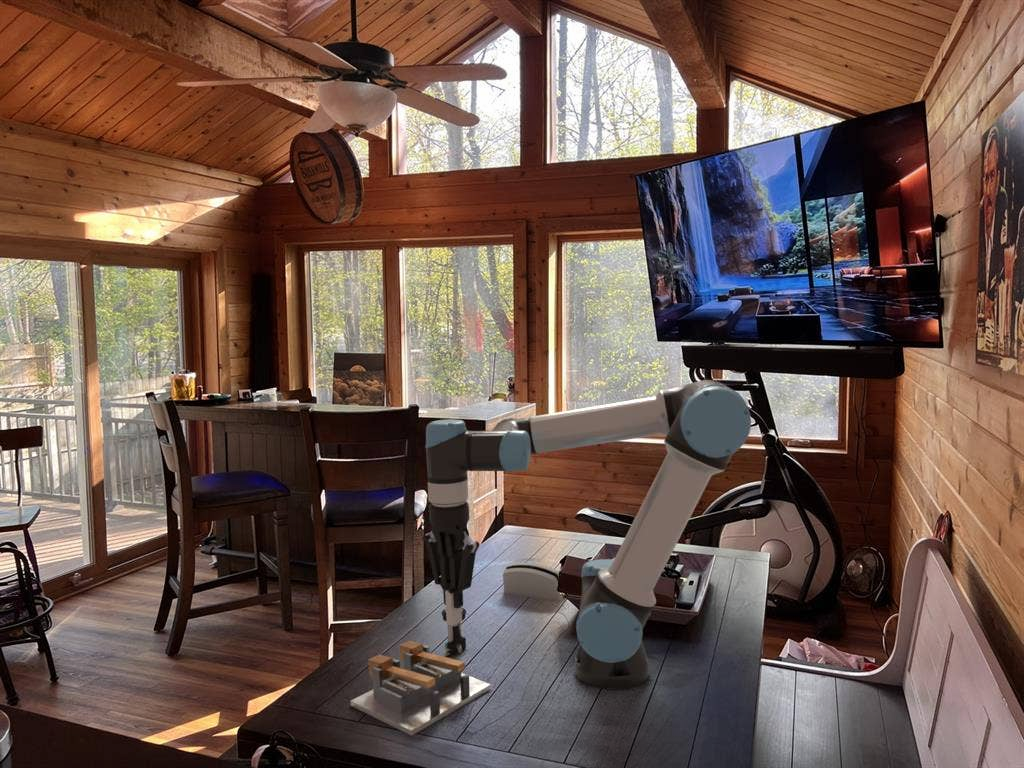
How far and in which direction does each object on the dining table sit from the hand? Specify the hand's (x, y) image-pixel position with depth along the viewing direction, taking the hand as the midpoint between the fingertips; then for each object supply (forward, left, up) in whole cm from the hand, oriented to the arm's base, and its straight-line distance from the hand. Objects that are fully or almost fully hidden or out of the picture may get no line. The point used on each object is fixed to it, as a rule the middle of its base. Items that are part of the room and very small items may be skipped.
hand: (454, 622), depth 147 cm
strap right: (+6, 0, -11) cm, 12 cm away
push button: (+14, -14, -15) cm, 25 cm away
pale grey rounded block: (+21, -50, -15) cm, 57 cm away
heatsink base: (+5, +4, -15) cm, 16 cm away
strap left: (+6, +8, -11) cm, 15 cm away
